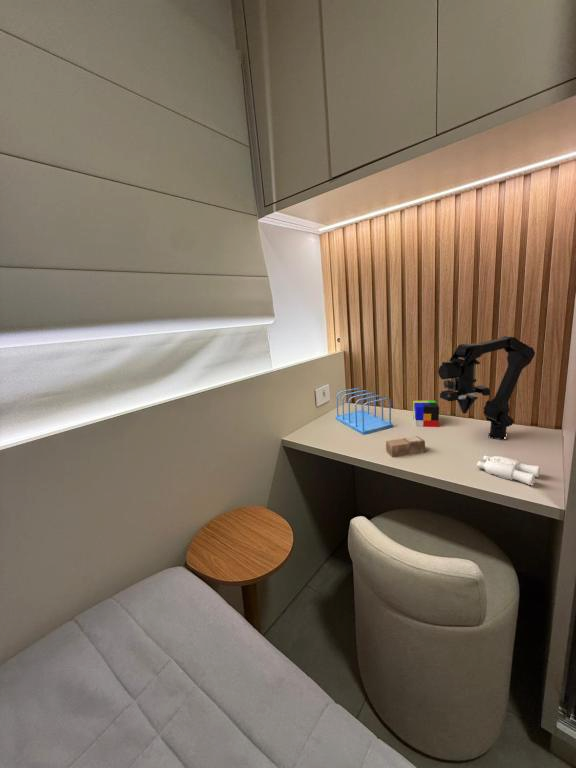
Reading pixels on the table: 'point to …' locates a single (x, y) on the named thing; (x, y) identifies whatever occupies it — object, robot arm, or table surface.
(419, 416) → the puzzle toy
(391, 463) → the table surface
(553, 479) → the table surface
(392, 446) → the walnut block
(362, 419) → the file sorter
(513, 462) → the binoculars
